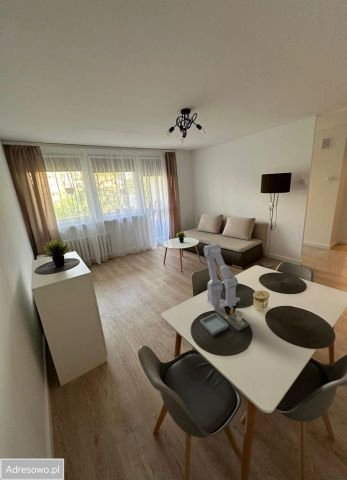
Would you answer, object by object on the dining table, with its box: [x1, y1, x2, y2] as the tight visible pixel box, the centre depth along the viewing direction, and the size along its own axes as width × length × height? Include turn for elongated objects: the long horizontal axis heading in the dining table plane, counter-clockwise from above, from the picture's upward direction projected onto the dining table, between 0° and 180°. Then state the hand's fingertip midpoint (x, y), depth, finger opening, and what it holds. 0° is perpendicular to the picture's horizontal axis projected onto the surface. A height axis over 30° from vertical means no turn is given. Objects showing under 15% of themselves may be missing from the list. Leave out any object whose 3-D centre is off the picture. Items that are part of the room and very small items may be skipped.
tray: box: [199, 312, 230, 337], centre depth 115 cm, size 12×12×2 cm
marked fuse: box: [227, 305, 233, 317], centre depth 119 cm, size 4×4×7 cm
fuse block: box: [213, 305, 249, 332], centre depth 120 cm, size 22×8×3 cm, turn 27°
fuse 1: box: [220, 298, 226, 311], centre depth 126 cm, size 4×4×7 cm
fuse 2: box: [235, 310, 243, 325], centre depth 113 cm, size 4×4×7 cm
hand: (230, 313), depth 120 cm, fingers closed on marked fuse, 3 cm apart
